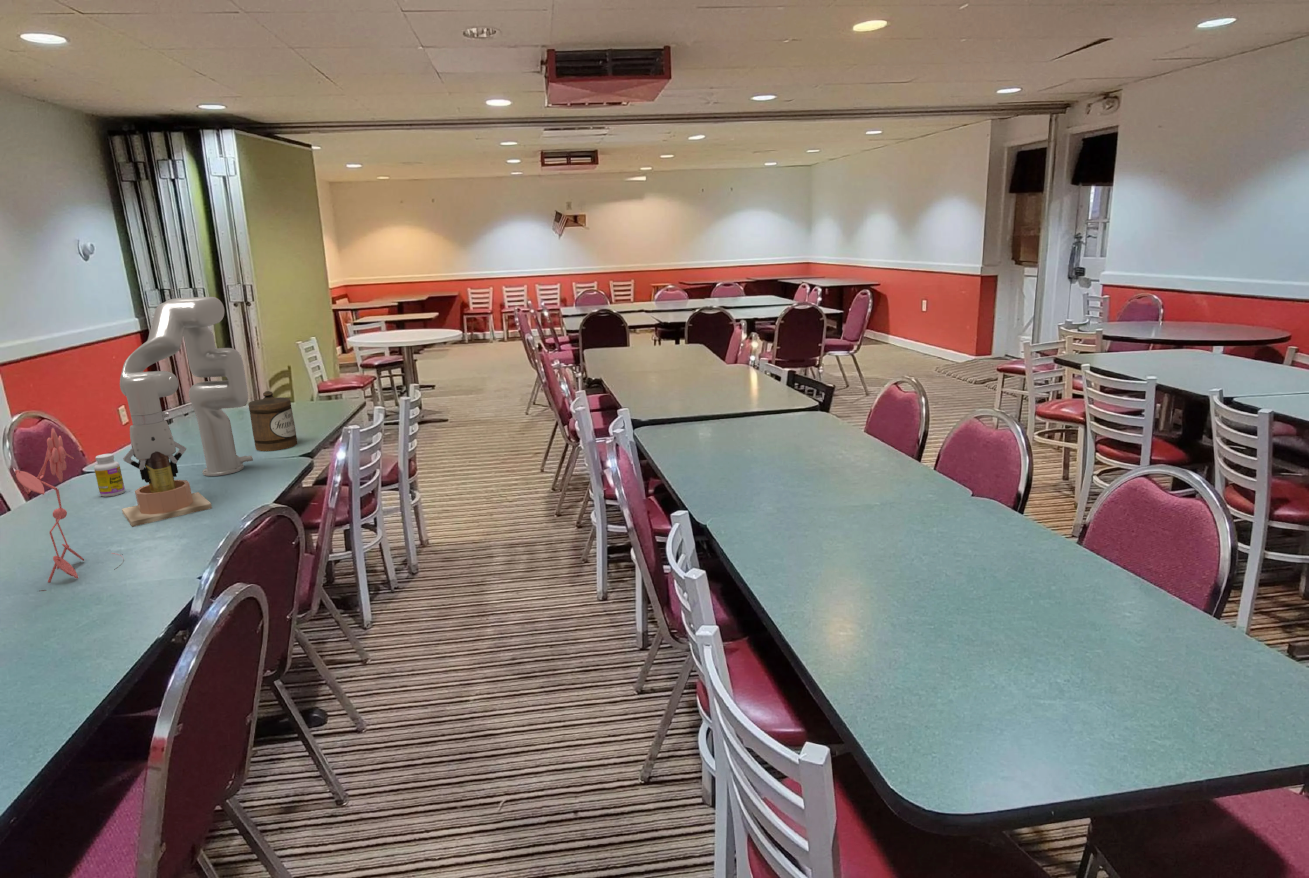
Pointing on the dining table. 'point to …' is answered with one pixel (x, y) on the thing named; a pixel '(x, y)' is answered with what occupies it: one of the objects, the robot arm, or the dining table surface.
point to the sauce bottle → (159, 472)
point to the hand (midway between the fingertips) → (160, 478)
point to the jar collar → (164, 498)
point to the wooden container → (272, 423)
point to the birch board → (138, 518)
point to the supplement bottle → (108, 476)
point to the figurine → (35, 484)
